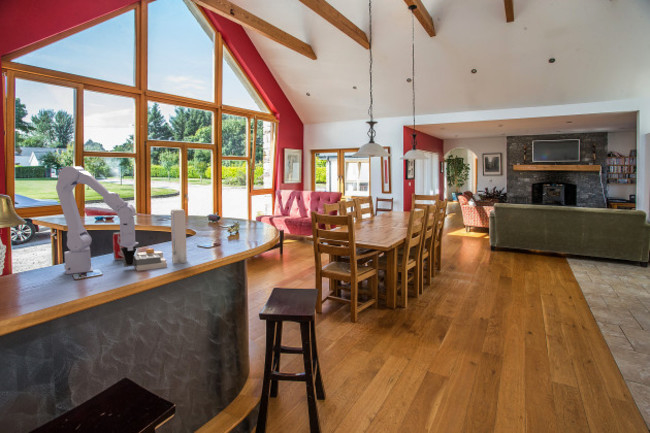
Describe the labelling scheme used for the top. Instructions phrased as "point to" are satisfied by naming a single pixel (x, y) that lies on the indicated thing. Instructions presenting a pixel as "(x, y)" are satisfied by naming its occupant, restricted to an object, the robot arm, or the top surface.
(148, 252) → the plunger
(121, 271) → the top surface
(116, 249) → the soda can
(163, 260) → the cradle
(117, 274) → the top surface
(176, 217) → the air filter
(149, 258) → the cartridge
